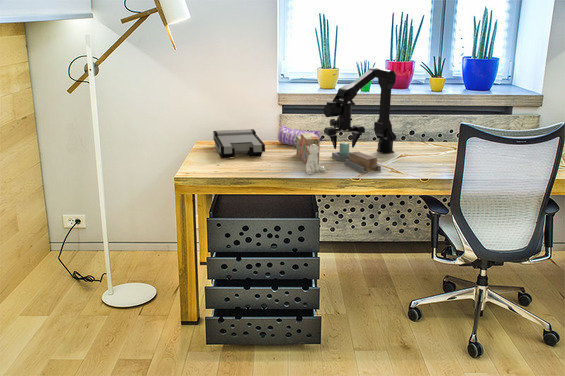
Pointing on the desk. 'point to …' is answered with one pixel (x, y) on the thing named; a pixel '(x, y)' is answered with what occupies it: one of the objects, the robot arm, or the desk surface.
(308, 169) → the sitting furry creature
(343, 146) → the nose cylinder
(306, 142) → the stack of blocks
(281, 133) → the pencil case
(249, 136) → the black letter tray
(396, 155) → the desk surface
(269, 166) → the desk surface
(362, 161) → the block
